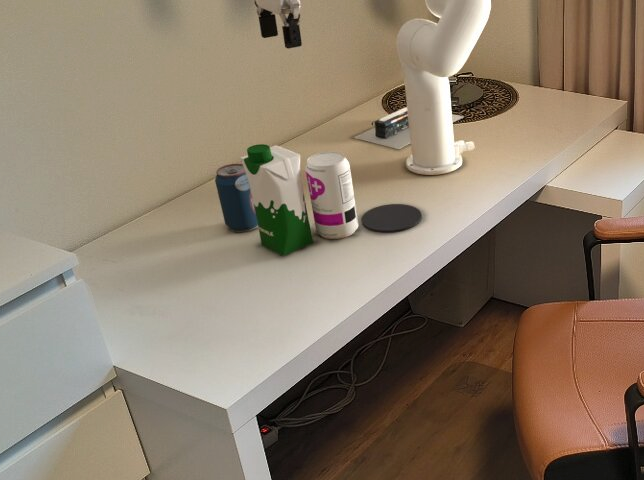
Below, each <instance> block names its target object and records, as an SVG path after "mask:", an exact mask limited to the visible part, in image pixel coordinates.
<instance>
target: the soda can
mask: <svg viewBox="0 0 644 480" xmlns="http://www.w3.org/2000/svg"><path fill="white" fill-rule="evenodd" d="M214 182H215V183H214V184H215V186H216V190H217V195H218V199H219V204H220V208H221V212H222V216H223V221H224V224H225V225H226V226H227V228H229V229H230V231H232V232H235V233H246V232H250V231H253V230H255V229H256V228H258V222H257V217H256V213H255V208H254V203H253V199H252V194H251V189H250V185H249V181H248V178H247V175H246V172H245V170H244V167H243V164H242V163H230V164H225V165H223V166H220V167H218V169H217V170H216V175H215V179H214Z"/></svg>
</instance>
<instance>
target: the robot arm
mask: <svg viewBox="0 0 644 480" xmlns="http://www.w3.org/2000/svg"><path fill="white" fill-rule="evenodd" d="M253 2H254V5H255V7H256V14H257V16H258V23H259V28H260V36H261V37H262V38H263V39H267V38H274V37H278V35H279V31H278V25H277V18H276V15H279V18H280V19H281V22H282V24H283V25H281V30H282V37H283V42H284V43H283V44H284V48H285V49H293V48H299V47H302V45H303V42H302V35H301V27H300V25H301V20H300V19H301V13H300V12H301V7H302V6H301V1H300V0H254V1H253ZM425 5H426V7H427V9H428V10H429V12H430V13H431V14H432V15H434V16H435V17H437V18H439V20H438V21H437V22H434V21H433V20H432V21H431V20H429V19H425V18H413V19H410V20H408V21H406V22H405V23H404V24H402V26H401V27H400V28H399V31H398V33H397V36H396V49H397V50H396V51H397V56H398V60H399V64H400V69H401V72H402V77H403V82H404V91H405V101H406V102H405V103H406V107H407V111H408V121H409V130H410V139H411V143H410V145H411V146H410V149H411V155H409V156H408V157H407V158H406V159H405V167H406V168H407V170H409V171H410V172H412V173H414V174H418V175H423V176H437V175H438V176H439V175H443V174H449V173H452V172H453V171H456V170H458V169H459V168H460V167H462V165H463V156H462V155H463V152H464V153H465V152H469V151H473V150H475V148H476V147H475V143H474V141H473V140H472V141H471V140H470V141H467V142H465V141H464V140H463V139H461V140H458V141H455V140H454V139H455V137H454V125H453V123H452V114H453V112H452V101H451V87H450V80H449V77H453V76H454V75H455V74H457V73H459V71H460V70H461V69H462V68H463V67H464V65H465V64H466V62H467V60H468V59H469V57H470V55H471V54H472V53H471V52H472V51H473V49H474V47H475V46H476V43H477V42H478V40H479V38H480V36H481V34H482V32H483V30H484V28H485V26H486V25H487V22H488V20H489V17H490V13H491V8H492V1H491V0H425Z"/></svg>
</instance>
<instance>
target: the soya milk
mask: <svg viewBox="0 0 644 480" xmlns="http://www.w3.org/2000/svg"><path fill="white" fill-rule="evenodd" d="M246 152H247V154H246V155H243V156H241V157H240V158H239V159H240V162H241V164H243V167H244V170H245V172H246V175H247V178H248V181H249V185H250V189H251V194H252V199H253V203H254V208H255V213H256V217H257V222H258V226H257V228H258V231H259V232H258V233H259V238H260V243H261V246H262V247H264V248H266V249H268V250H270V251H272V252H274V253H276V254H278V255H280V256H282V257H284V256H287V255H289V254H291V253H293V252H295V251H299V250H300V249H302V248H304V247H307V246H309V245H311V244H313V243H314V238H313V233H312V229H311V224H310V219H309V214H308V209H307V203H306V199H305V193H304V186H303V181H302V175H301V154H299V153H297V152H294V151H292V150H289V149H287V148H285V147H282V146H279V145H277V144H275V145H273V146H270V145H268V144H263V143H261V144H259V143H258V144H254V145H250V146H248V148H247V149H246Z"/></svg>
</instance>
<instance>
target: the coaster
mask: <svg viewBox="0 0 644 480" xmlns="http://www.w3.org/2000/svg"><path fill="white" fill-rule="evenodd" d="M422 218H423V214H422V212H421V210H420V209H418V208H417V207H415V206H413V205H409V204H404V203H392V204H391V203H390V204H384V205H379V206H376V207H372V208H371V209H369V210H367V211H366V212H364V213H363V214H362V216H361V218H360V220H361V225H362V227H364V228H365V229H366V230H368V231H371V232H375V233H383V234H385V233H386V234H389V233H399V232H403V231H406V230H409V229H411V228H414V227H415V226H417V225H418V224H419V223H420V222H421V221H422Z"/></svg>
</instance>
